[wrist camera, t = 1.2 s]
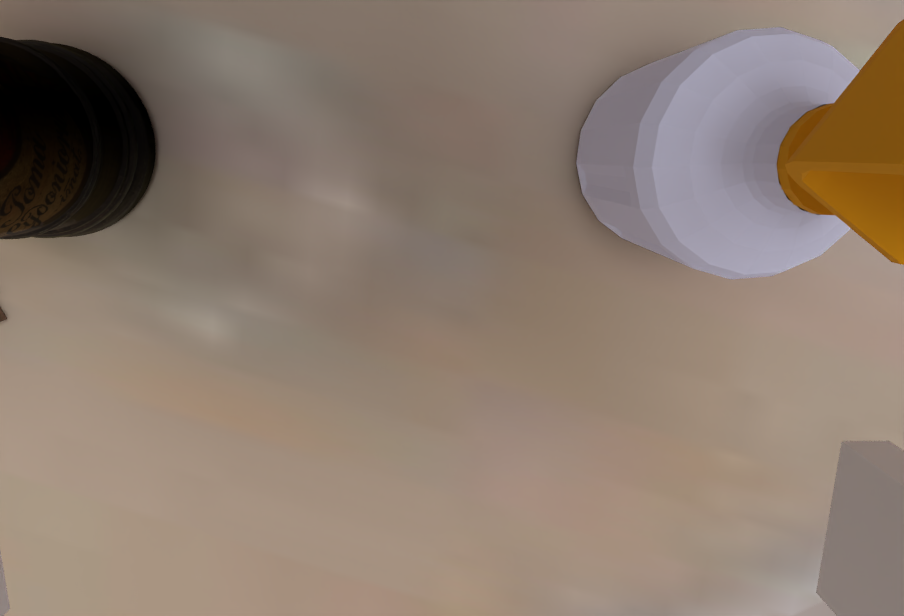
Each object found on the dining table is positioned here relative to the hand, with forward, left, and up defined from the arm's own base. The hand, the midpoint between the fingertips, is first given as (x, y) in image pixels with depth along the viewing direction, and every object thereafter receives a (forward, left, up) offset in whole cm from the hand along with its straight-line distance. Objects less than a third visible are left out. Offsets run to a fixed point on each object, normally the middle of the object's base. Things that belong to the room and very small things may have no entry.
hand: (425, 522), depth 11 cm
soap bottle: (0, +13, -25) cm, 29 cm away
